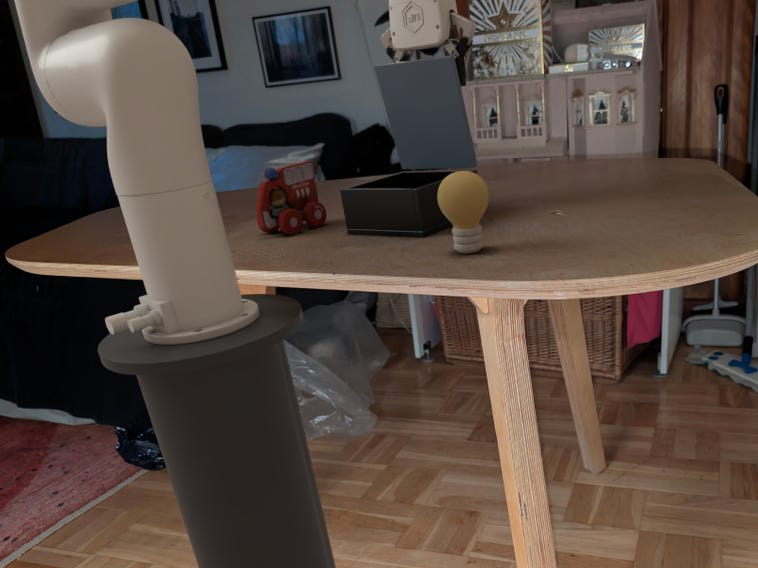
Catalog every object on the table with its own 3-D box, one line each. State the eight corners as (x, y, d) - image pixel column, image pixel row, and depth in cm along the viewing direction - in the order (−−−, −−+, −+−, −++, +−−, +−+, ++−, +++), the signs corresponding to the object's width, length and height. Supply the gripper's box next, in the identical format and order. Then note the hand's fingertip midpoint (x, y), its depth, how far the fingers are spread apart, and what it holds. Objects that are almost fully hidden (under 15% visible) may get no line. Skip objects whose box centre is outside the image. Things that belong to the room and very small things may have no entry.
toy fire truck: (250, 238, 113) (234, 172, 109) (308, 220, 122) (296, 159, 118) (277, 240, 109) (262, 172, 105) (336, 222, 118) (324, 158, 114)
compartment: (423, 237, 100) (416, 189, 97) (347, 234, 108) (339, 189, 105) (481, 213, 112) (476, 169, 109) (409, 212, 119) (403, 171, 117)
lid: (451, 56, 100) (469, 47, 103) (373, 66, 108) (392, 57, 111) (475, 167, 109) (491, 156, 112) (401, 169, 116) (418, 158, 120)
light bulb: (489, 256, 86) (481, 173, 82) (439, 259, 87) (428, 177, 83) (497, 243, 92) (490, 165, 88) (450, 246, 93) (441, 169, 89)
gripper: (357, -27, 104) (375, 95, 111) (451, -48, 95) (466, 86, 102) (388, -25, 110) (404, 91, 117) (481, -45, 101) (492, 82, 107)
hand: (433, 89), depth 109 cm, fingers open, 9 cm apart
